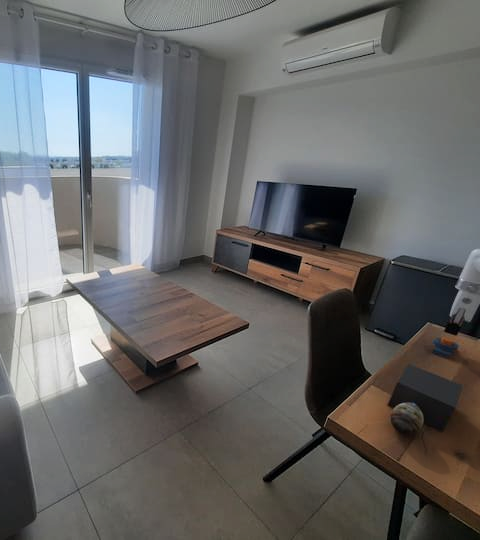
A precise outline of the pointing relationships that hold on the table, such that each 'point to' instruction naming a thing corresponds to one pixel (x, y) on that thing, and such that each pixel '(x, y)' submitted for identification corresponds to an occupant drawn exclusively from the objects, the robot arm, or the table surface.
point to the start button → (447, 341)
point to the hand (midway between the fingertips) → (450, 333)
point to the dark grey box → (427, 395)
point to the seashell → (407, 418)
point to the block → (444, 348)
